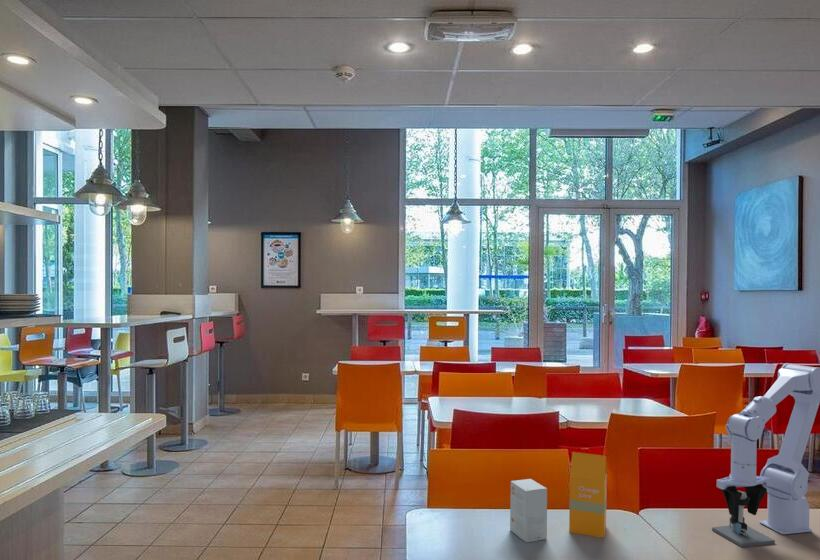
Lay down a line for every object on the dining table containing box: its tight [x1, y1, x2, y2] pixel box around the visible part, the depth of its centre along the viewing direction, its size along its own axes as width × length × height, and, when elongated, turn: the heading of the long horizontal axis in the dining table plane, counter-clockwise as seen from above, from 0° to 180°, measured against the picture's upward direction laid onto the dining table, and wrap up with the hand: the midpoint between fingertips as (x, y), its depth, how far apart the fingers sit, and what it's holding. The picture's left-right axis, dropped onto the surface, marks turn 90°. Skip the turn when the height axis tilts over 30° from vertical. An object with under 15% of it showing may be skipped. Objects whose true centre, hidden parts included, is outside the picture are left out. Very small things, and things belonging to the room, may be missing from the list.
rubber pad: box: [711, 525, 776, 548], centre depth 154 cm, size 10×10×1 cm
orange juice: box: [568, 451, 608, 538], centre depth 158 cm, size 8×9×20 cm
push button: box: [728, 490, 750, 536], centre depth 155 cm, size 7×5×10 cm
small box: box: [509, 478, 548, 543], centre depth 154 cm, size 8×6×13 cm
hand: (742, 514), depth 154 cm, fingers closed on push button, 5 cm apart
